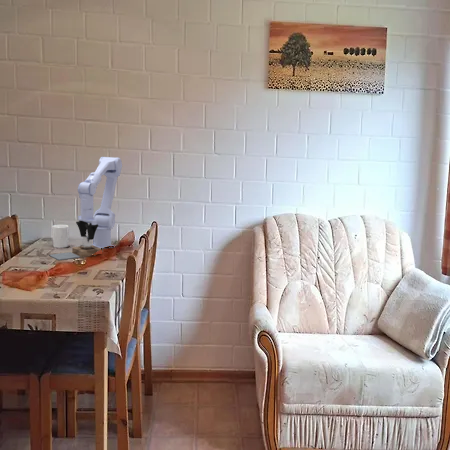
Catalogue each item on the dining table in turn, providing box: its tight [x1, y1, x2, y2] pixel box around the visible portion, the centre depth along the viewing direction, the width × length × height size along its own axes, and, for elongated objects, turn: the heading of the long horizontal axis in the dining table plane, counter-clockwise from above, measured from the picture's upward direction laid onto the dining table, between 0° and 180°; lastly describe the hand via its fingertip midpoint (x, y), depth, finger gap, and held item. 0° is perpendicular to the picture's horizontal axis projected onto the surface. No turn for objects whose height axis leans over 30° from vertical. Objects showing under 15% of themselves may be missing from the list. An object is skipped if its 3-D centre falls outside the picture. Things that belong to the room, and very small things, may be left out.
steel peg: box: [82, 235, 93, 250], centre depth 246 cm, size 4×4×8 cm
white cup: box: [51, 224, 70, 249], centre depth 258 cm, size 8×8×10 cm
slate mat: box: [49, 251, 81, 261], centre depth 240 cm, size 10×10×1 cm
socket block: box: [71, 245, 101, 258], centre depth 247 cm, size 10×10×2 cm
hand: (87, 238), depth 246 cm, fingers open, 7 cm apart
